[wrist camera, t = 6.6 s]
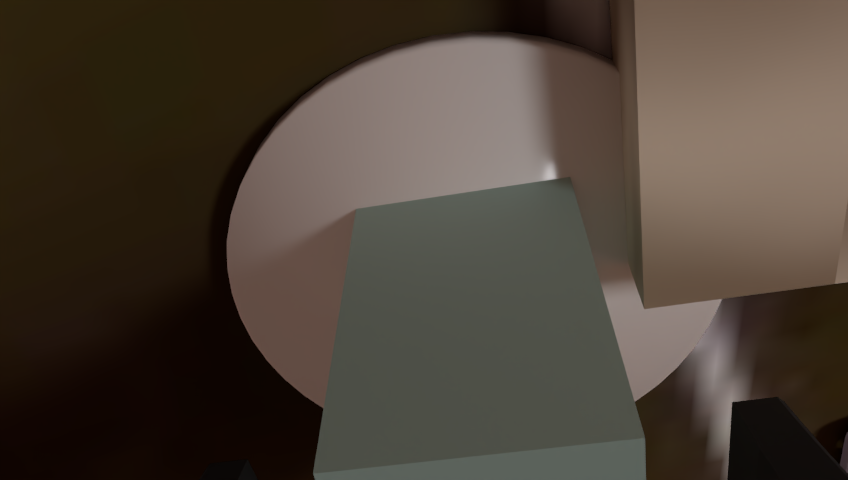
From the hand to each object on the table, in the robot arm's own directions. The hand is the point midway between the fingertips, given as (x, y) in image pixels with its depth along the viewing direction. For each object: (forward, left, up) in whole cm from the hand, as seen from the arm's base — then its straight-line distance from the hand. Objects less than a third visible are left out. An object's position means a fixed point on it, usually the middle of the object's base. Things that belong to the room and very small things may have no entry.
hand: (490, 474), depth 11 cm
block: (0, 0, -5) cm, 5 cm away
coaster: (0, 0, -5) cm, 5 cm away
